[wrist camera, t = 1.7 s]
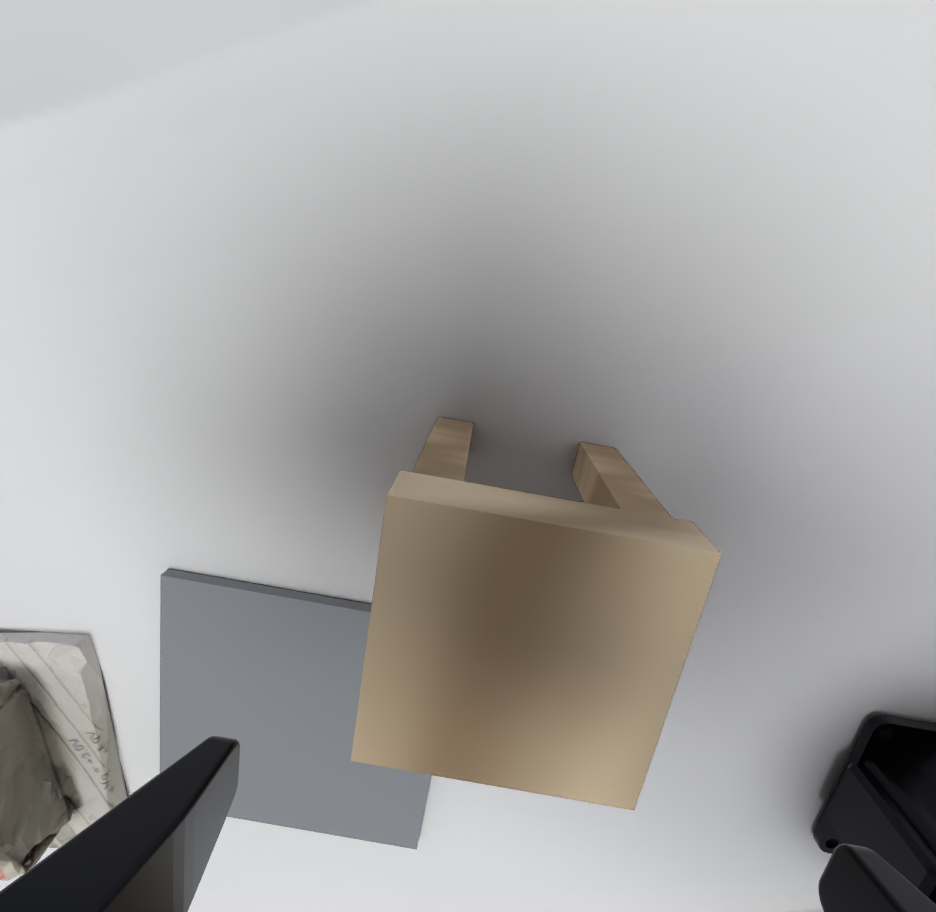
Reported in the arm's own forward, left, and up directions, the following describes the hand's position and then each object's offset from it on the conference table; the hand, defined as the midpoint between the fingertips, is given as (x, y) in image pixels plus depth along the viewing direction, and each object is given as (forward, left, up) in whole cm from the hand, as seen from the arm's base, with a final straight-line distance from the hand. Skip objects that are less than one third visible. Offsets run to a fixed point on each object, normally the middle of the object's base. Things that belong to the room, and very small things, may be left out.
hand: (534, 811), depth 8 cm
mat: (+6, +10, -11) cm, 16 cm away
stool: (0, 0, -11) cm, 11 cm away
